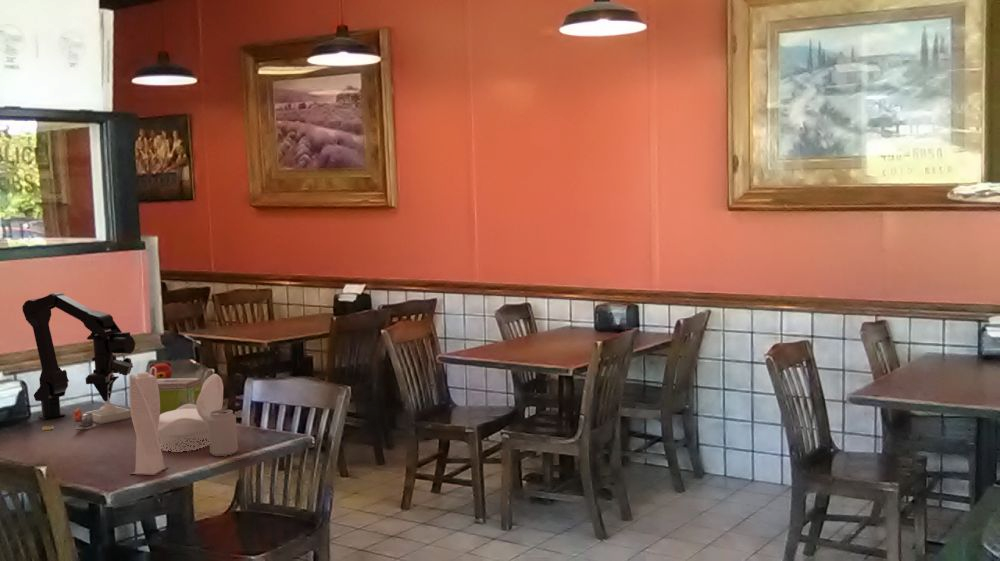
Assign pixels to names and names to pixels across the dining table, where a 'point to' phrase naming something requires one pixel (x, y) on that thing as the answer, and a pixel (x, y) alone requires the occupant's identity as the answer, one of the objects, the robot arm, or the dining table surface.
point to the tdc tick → (47, 427)
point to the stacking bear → (162, 370)
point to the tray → (110, 415)
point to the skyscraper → (146, 422)
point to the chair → (191, 417)
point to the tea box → (178, 392)
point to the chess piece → (107, 405)
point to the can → (222, 433)
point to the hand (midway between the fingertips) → (107, 400)
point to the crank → (82, 418)
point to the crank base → (86, 426)
